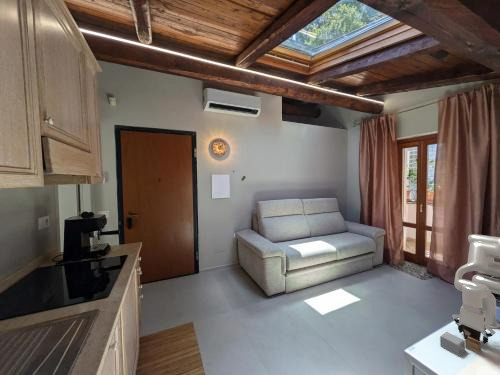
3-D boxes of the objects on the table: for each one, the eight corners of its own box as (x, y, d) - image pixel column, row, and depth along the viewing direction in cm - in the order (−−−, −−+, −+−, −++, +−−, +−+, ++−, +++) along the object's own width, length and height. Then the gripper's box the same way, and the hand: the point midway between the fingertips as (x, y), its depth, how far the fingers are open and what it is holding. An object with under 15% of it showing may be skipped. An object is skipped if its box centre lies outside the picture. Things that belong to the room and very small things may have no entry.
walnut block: (468, 344, 121) (468, 336, 121) (481, 350, 117) (480, 341, 116) (465, 348, 119) (465, 339, 119) (477, 354, 114) (477, 345, 114)
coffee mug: (486, 346, 119) (486, 329, 119) (469, 345, 120) (468, 328, 120) (469, 332, 130) (469, 316, 130) (453, 330, 132) (453, 315, 132)
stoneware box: (446, 341, 124) (446, 331, 124) (464, 350, 117) (464, 340, 117) (440, 346, 121) (440, 336, 121) (458, 356, 114) (458, 345, 113)
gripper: (497, 313, 111) (497, 345, 111) (454, 298, 126) (454, 326, 127) (492, 318, 108) (493, 350, 108) (449, 302, 123) (449, 330, 123)
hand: (472, 337), depth 117 cm, fingers open, 9 cm apart
